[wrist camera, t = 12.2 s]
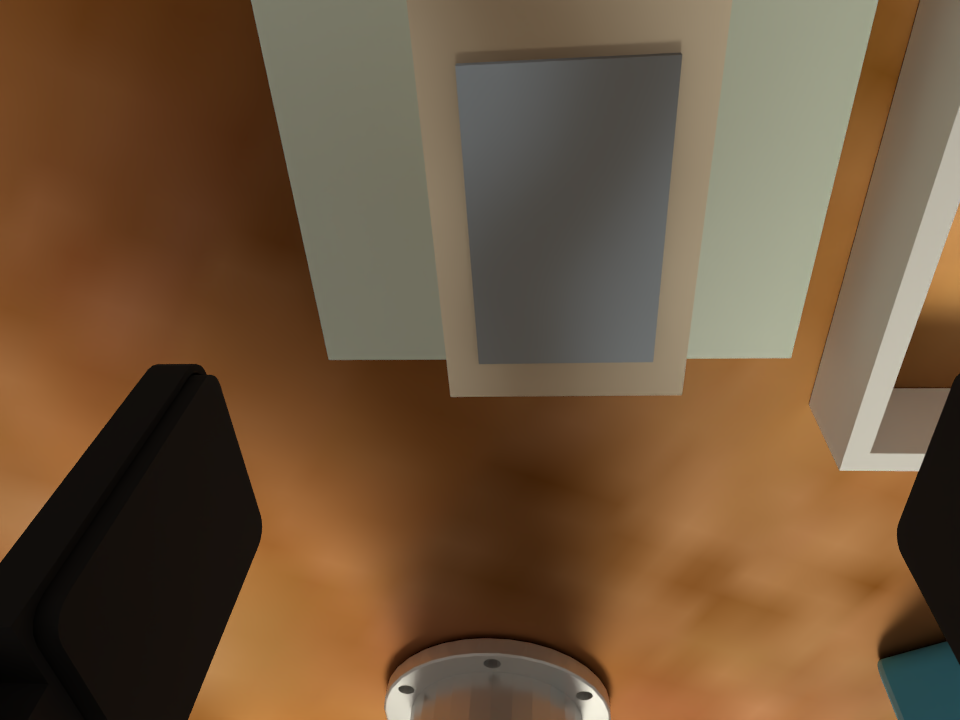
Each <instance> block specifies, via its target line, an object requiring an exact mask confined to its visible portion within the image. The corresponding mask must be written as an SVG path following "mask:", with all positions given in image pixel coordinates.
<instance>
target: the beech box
mask: <svg viewBox="0 0 960 720" xmlns="http://www.w3.org/2000/svg"><path fill="white" fill-rule="evenodd" d="M406 1H407V10H408V19H409V28H410V37H411V46H412V55H413V64H414V73H415V82H416V91H417V100H418V109H419V118H420V127H421V136H422V145H423V154H424V163H425V172H426V181H427V190H428V199H429V208H430V217H431V226H432V235H433V244H434V253H435V262H436V271H437V280H438V289H439V298H440V307H441V316H442V325H443V334H444V343H445V352H446V361H447V370H448V379H449V388H450V397H511V396H641V395H682V390H683V383H684V375H685V367H686V359H687V351H688V344H689V336H690V328H691V320H692V312H693V305H694V297H695V289H696V281H697V273H698V266H699V258H700V250H701V242H702V234H703V227H704V219H705V211H706V203H707V195H708V188H709V180H710V172H711V164H712V156H713V149H714V141H715V133H716V125H717V117H718V109H719V102H720V94H721V86H722V78H723V70H724V63H725V55H726V47H727V39H728V31H729V24H730V16H731V8H732V0H406Z"/></svg>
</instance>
